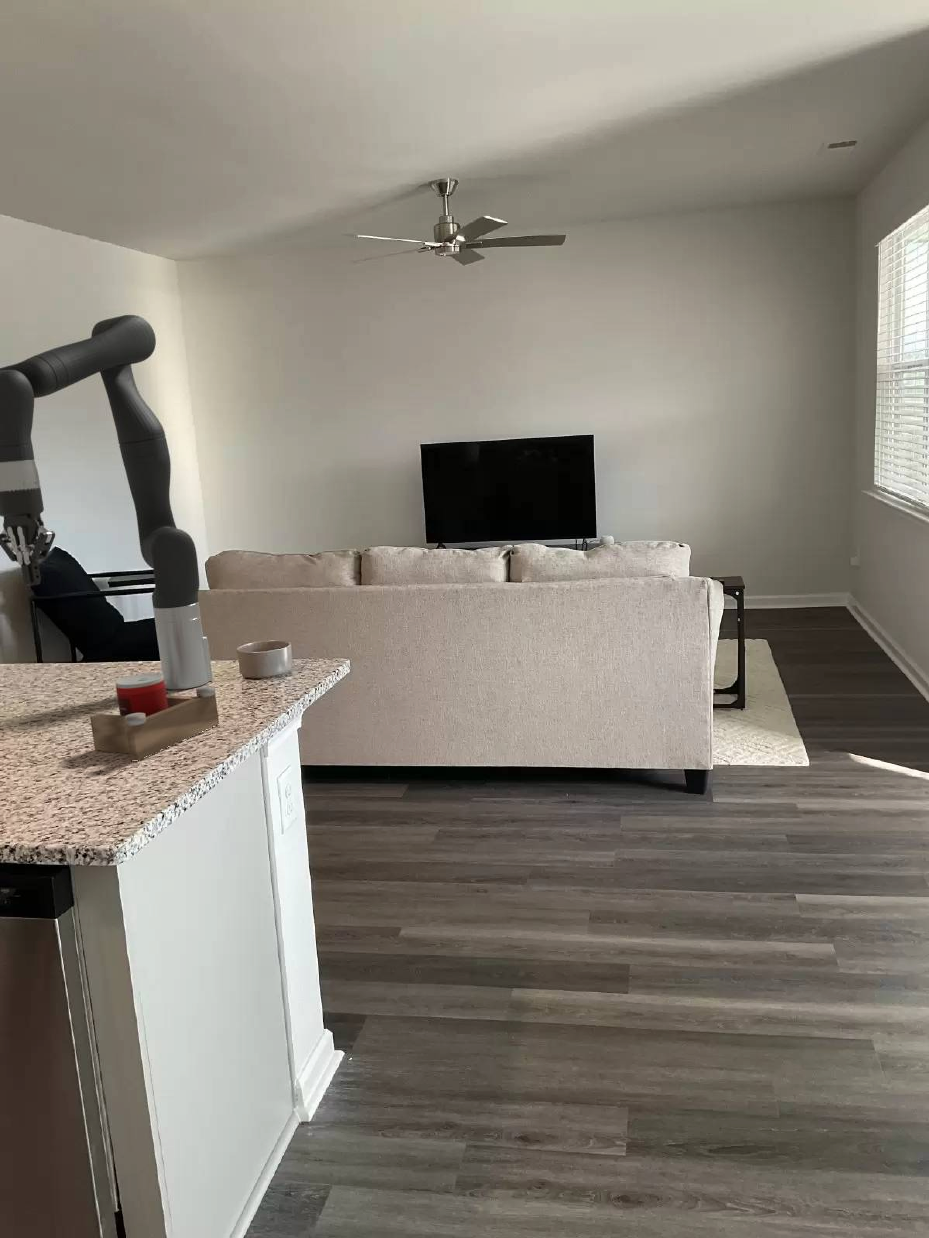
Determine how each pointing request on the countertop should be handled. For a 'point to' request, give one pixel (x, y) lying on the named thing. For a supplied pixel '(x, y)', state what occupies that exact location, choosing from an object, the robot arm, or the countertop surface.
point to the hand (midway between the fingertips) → (32, 584)
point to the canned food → (141, 694)
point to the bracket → (156, 725)
